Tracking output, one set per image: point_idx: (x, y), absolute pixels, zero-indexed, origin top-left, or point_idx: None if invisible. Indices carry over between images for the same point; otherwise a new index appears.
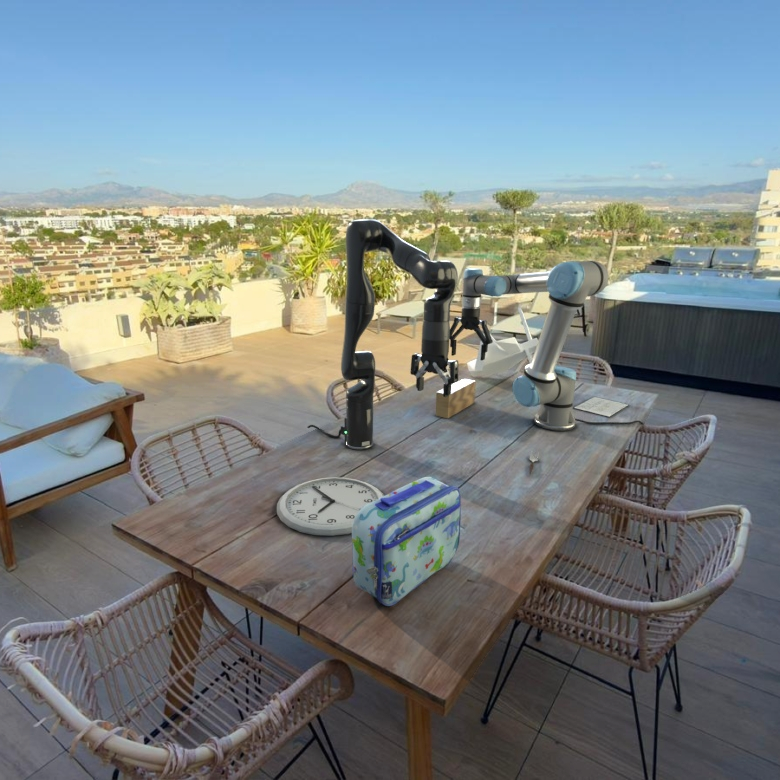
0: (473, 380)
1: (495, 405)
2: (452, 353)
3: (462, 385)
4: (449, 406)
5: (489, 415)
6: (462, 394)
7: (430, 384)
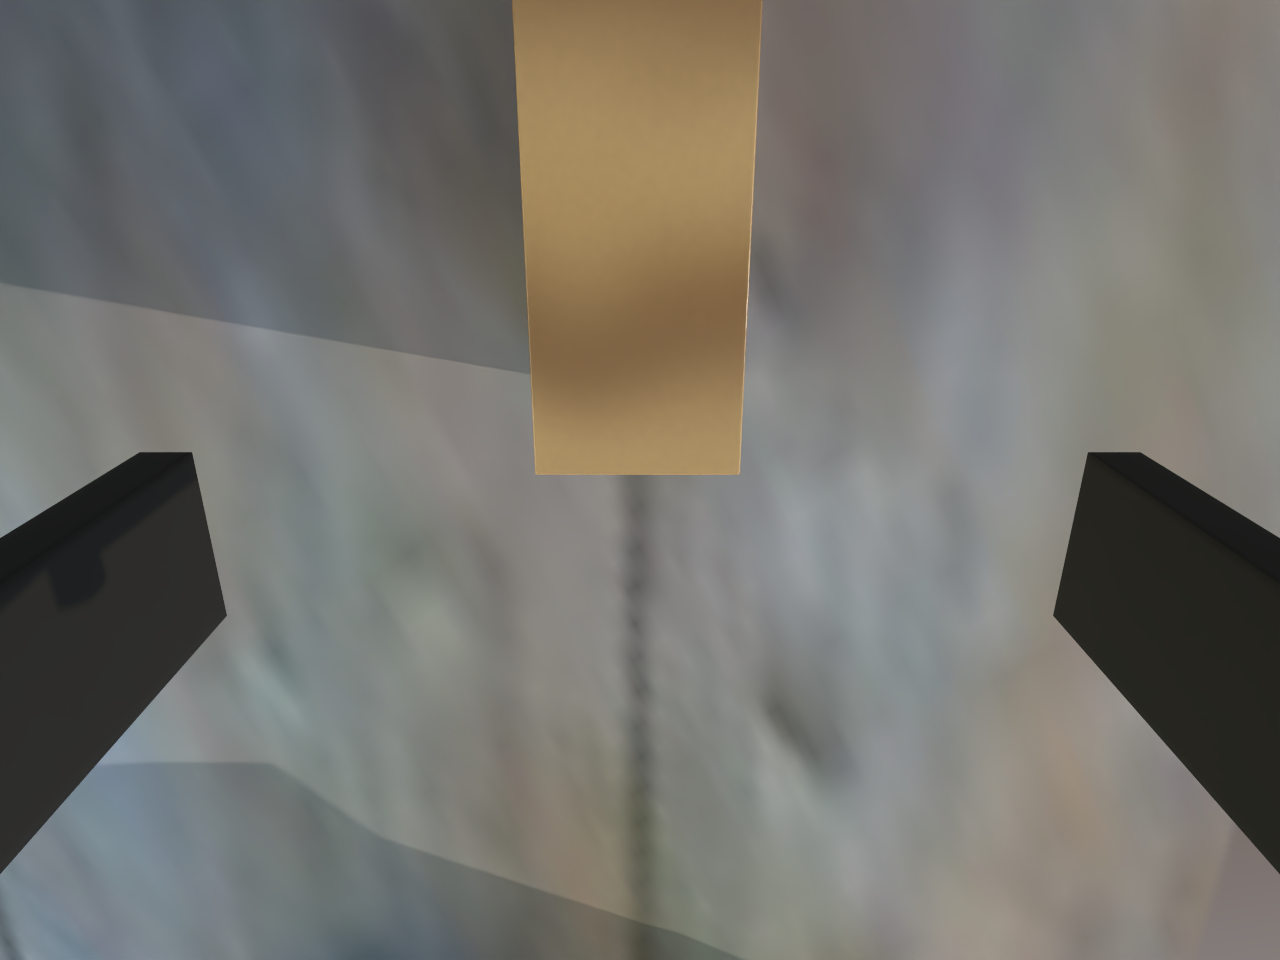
0: (570, 467)
1: (346, 436)
2: (1141, 475)
3: (575, 83)
4: None
5: (206, 70)
6: None
7: None
